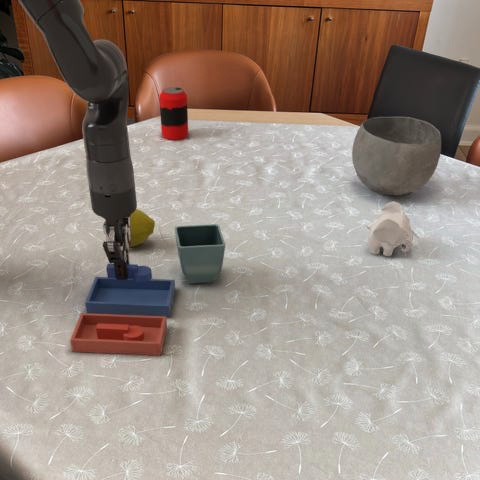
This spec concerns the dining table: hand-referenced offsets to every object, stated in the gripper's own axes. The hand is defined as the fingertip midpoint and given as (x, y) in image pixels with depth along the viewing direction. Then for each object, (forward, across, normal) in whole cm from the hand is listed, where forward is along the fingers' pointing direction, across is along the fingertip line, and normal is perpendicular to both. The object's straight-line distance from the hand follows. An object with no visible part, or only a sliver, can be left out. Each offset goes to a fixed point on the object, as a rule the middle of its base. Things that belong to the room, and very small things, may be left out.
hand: (123, 275), depth 118 cm
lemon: (+6, -22, -3) cm, 23 cm away
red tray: (+6, +12, +1) cm, 13 cm away
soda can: (+6, -87, -1) cm, 87 cm away
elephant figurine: (+6, -24, +52) cm, 58 cm away
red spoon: (+5, +12, +1) cm, 13 cm away
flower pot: (+6, -10, +13) cm, 18 cm away
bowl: (+6, -55, +56) cm, 79 cm away
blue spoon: (0, 0, +1) cm, 1 cm away
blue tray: (+6, 0, +1) cm, 6 cm away
